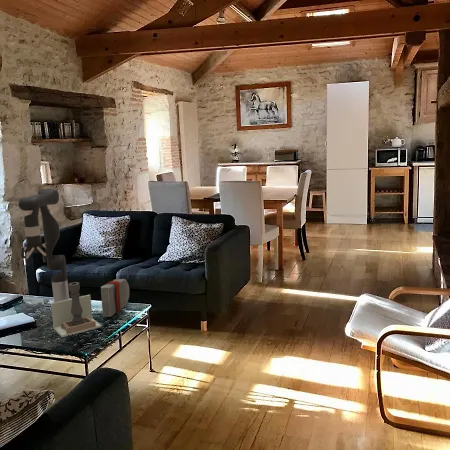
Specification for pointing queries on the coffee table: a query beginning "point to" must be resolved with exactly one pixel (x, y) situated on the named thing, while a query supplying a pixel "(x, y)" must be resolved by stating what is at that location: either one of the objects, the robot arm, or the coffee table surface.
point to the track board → (64, 317)
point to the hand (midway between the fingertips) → (36, 263)
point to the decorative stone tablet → (114, 297)
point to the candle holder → (76, 304)
